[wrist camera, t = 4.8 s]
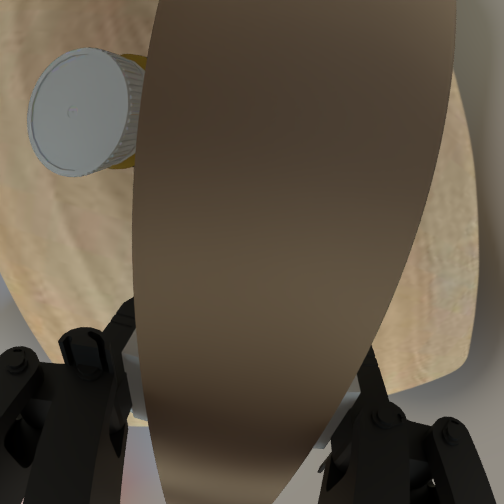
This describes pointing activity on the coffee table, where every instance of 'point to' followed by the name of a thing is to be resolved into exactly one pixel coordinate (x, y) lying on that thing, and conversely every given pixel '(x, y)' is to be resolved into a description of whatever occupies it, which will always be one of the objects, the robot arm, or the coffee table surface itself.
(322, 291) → the rail
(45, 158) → the bottle
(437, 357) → the coffee table surface
